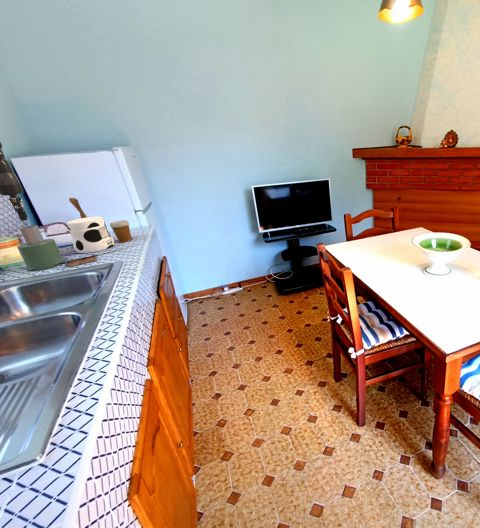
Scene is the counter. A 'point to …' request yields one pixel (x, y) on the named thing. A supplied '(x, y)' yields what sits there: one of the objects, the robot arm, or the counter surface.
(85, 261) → the coaster
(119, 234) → the disposable coffee cup
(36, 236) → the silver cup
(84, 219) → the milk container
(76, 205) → the wooden handled tool
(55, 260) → the green tapered cylinder
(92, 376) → the counter surface
